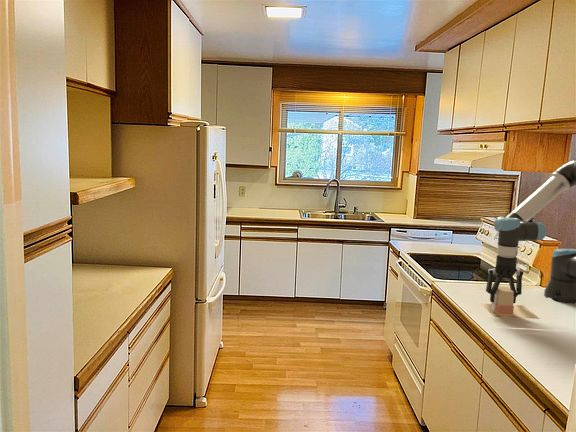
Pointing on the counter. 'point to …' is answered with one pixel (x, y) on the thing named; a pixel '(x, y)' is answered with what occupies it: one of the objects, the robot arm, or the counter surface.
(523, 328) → the counter surface
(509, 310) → the block
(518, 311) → the board
